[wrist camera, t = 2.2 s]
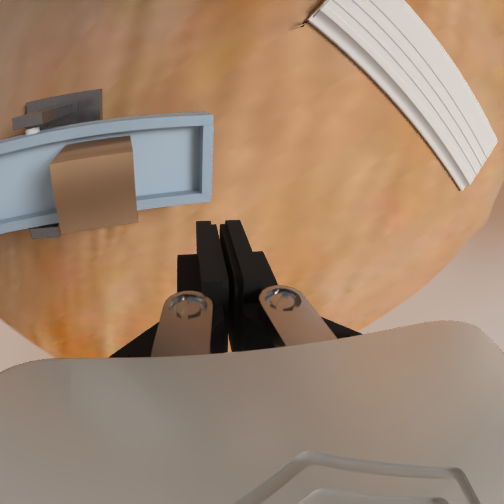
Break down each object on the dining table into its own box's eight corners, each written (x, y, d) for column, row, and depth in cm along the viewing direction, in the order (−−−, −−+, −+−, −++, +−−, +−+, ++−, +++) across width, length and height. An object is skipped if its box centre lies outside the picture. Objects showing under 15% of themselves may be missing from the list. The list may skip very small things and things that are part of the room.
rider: (65, 144, 19) (49, 164, 14) (130, 135, 20) (133, 151, 16) (72, 199, 21) (61, 234, 16) (133, 190, 23) (138, 222, 18)
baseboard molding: (452, 196, 37) (490, 138, 33) (465, 204, 35) (504, 143, 31) (295, 30, 24) (357, -36, 20) (305, 25, 21) (371, -42, 17)
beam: (-85, 165, 13) (-100, 175, 11) (204, 107, 23) (214, 110, 21) (-66, 242, 17) (-77, 257, 15) (202, 195, 27) (211, 207, 25)
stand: (-37, 122, 19) (-80, 139, 13) (209, 82, 25) (216, 82, 18) (-20, 219, 25) (-54, 254, 19) (206, 203, 31) (211, 240, 24)
